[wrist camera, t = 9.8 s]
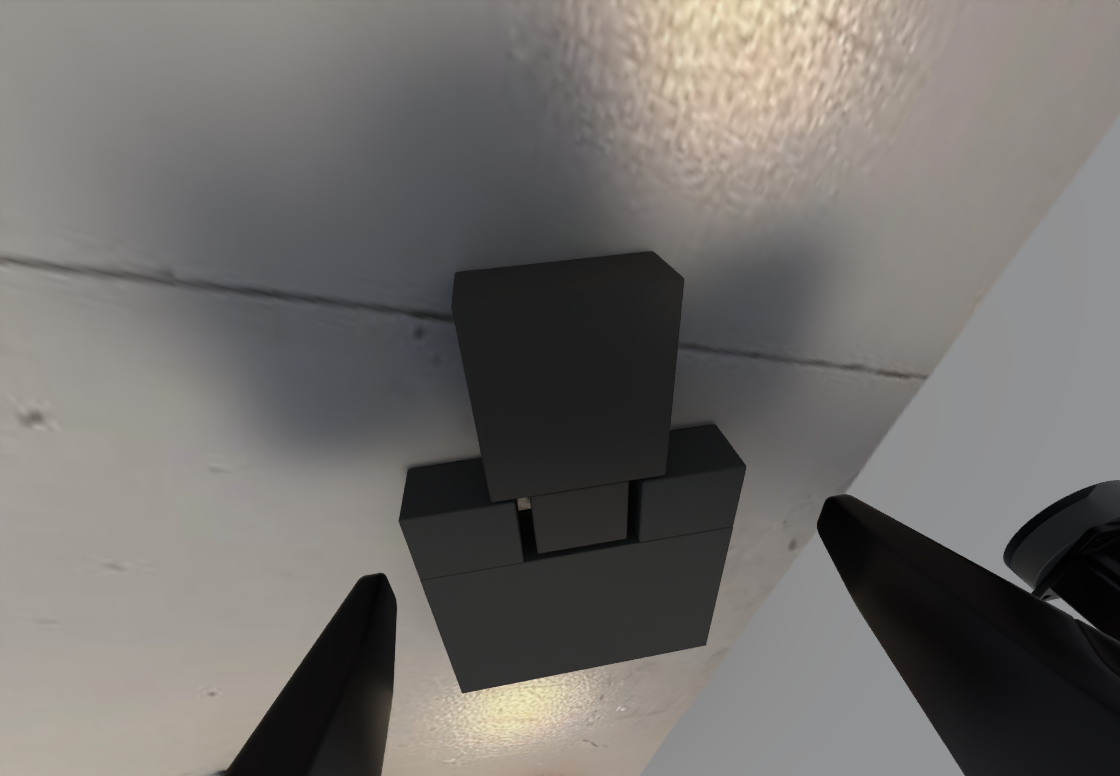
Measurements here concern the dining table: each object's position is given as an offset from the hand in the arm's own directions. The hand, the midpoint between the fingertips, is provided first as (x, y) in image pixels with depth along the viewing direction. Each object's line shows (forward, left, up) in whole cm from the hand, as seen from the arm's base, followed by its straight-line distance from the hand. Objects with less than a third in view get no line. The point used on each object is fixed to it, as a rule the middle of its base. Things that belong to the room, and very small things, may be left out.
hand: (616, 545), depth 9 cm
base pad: (0, +10, -8) cm, 12 cm away
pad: (0, +2, -7) cm, 8 cm away
